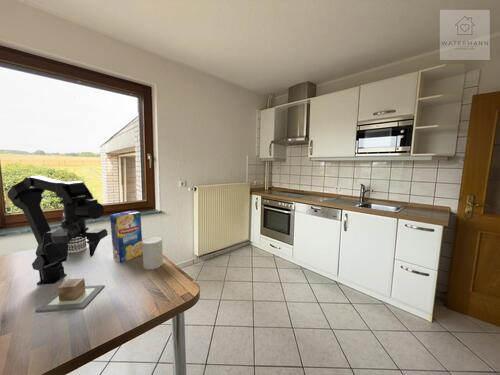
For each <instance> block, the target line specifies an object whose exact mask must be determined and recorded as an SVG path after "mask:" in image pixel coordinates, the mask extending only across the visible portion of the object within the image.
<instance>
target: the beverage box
mask: <svg viewBox="0 0 500 375" xmlns="http://www.w3.org/2000/svg"><path fill="white" fill-rule="evenodd" d="M109 219H110V230H111V231H110V232H111V244H112V256H113V260H115V261H116V262H118V263H124V262H127V261H129V260H132V259H134V257H135V258H138V257H140V256H143V255H142V254H143V249H142V241H143V235H142V232H143V231H142V219H141V212H140V211H138V210H129V211H123V212H118V213H112V214H110V215H109ZM139 255H140V256H139ZM137 256H138V257H137Z"/></svg>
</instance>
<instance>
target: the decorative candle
mask: <svg viewBox="0 0 500 375" xmlns="http://www.w3.org/2000/svg"><path fill="white" fill-rule="evenodd" d="M62 212H63V213H62V215H63V216H62V217H61V219H62V221H64V220H65V217H64V206H62ZM80 235H82V234H80ZM87 241H88V240H87V237H76V238H75V239H71V241H70V242H68V254H69V253H70V254H71V253H72V254H74V253H79V252H82V251H84V250H86V249H87V248H88V247H87V244H88V243H87Z"/></svg>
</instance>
